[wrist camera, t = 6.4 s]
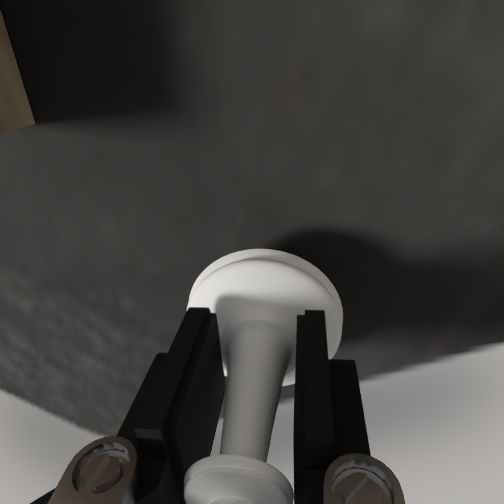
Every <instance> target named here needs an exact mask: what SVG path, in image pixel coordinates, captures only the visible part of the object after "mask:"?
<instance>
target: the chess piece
mask: <svg viewBox="0 0 504 504" xmlns="http://www.w3.org/2000/svg"><path fill="white" fill-rule="evenodd" d="M189 307H208V308H209V309H210V312H211V313H216V315H217V321H218V329H219V337H220V347H221V355H222V361H223V369H224V375H225V376H226V377H227V381H226V395H225V408H224V421H223V430H222V438H221V448H220V454H219V455H213V456H209V457H206V458H203V459H201V460H199V461H197V462H195V463H194V464H193V465H192V466H191V467H190V468H189V469H188V471H187V472H186V474H185V477H184V488H185V490H184V498H185V502H186V504H293V499H294V494H293V489H292V486H291V484H290V483H289V481H288V479H287V478H286V477H285V476H284V475H283V474H282V473H281V472H280V471H279V470H277V469H276V468H274V467H273V466H271V465H270V464H268V463H266V461H267V456H268V451H269V446H270V440H271V434H272V429H273V424H274V420H275V415H276V411H277V406H278V402H279V398H280V394H281V389H282V386H286V385H291V384H295V365H296V330H297V315H305V310H325V321H326V334H327V347H328V359H332V358H333V356H334V355H335V353H336V351H337V349H338V346H339V344H340V340H341V335H342V324H343V309H342V304H341V301H340V298H339V295H338V293H337V291H336V289H335V287H334V286H333V284H332V283H331V281H330V280H329V279H328V278H327V277H326V276H325V275H324V274H323V273H322V272H321V271H320V270H319V269H318V268H317V267H315V266H314V265H312V264H311V263H309V262H308V261H306V260H304V259H302V258H300V257H298V256H295V255H293V254H290V253H287V252H283V251H278V250H272V249H248V250H242V251H238V252H234V253H231V254H228V255H226V256H224V257H222V258H220V259H218V260H216V261H215V262H213V263H212V264H211V265H209V266H208V267H207V268H206V269H205V270H204V271H203V272H202V273H201V274H200V276H199V277H198V278H197V280H196V281H195V283H194V285H193V287H192V290H191V293H190V297H189V303H188V307H187V310H188V308H189Z"/></svg>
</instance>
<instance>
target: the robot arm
mask: <svg viewBox="0 0 504 504" xmlns="http://www.w3.org/2000/svg"><path fill="white" fill-rule="evenodd" d="M224 393H225V377H224V369H223V361H222V355H221V347H220V337H219V329H218V321H217V315H216V313H211V312H210V309H209V308H208V307H189V308H188V310H187V312H186V314H185V316H184V319H183V321H182V323H181V325H180V327H179V330H178V332H177V334H176V336H175V339H174V341H173V343H172V345H171V347H170V350H169V352H168V353H158V354H157V355H156V357H155V358H154V360H153V362H152V364H151V367H150V369H149V371H148V373H147V375H146V377H145V379H144V381H143V383H142V385H141V387H140V389H139V391H138V393H137V395H136V397H135V399H134V401H133V403H132V406H131V408H130V410H129V412H128V414H127V416H126V418H125V420H124V422H123V424H122V426H121V428H120V430H119V432H118V434H117V436H111V437H104V438H101V439H98V440H95V441H93V442H92V443H90V444H88V445H87V446H85V447H84V448H83V449H82V450H80V452H78V453H77V454H76V455H75V456H74V458H73V459H72V461H71V462H70V463H69V465H68V467H67V468H66V470H65V472H64V474H63V476H62V478H61V480H60V481H59V483H58V485H57V487H56V488H55V489H53V490H51V491H50V492H48V493H47V494H45V495H43V496H42V497H40V498H38V499H37V500H35V501H34V502H32V503H30V504H186V502H185V498H184V490H185V488H184V477H185V474H186V472H187V471H188V469H189V468H190V467H191V466H192V465H193V464H194V463H195V462H197V461H199V460H201V459H203V458H206V457H209V456H210V454H211V450H212V445H213V441H214V437H215V432H216V428H217V424H218V420H219V415H220V411H221V407H222V402H223V398H224ZM294 504H405V500H404V495H403V492H402V489H401V486H400V483H399V481H398V479H397V478H396V476H395V475H394V474H393V472H392V471H391V470H390V469H389V468H388V467H387V466H386V465H385V464H384V463H382V462H381V461H379V460H377V459H375V458H373V457H371V455H370V449H369V442H368V436H367V430H366V424H365V419H364V412H363V406H362V400H361V394H360V387H359V381H358V375H357V369H356V364H355V361H354V360H337V359H328V347H327V334H326V321H325V310H305V315H297V330H296V365H295V399H294Z"/></svg>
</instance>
